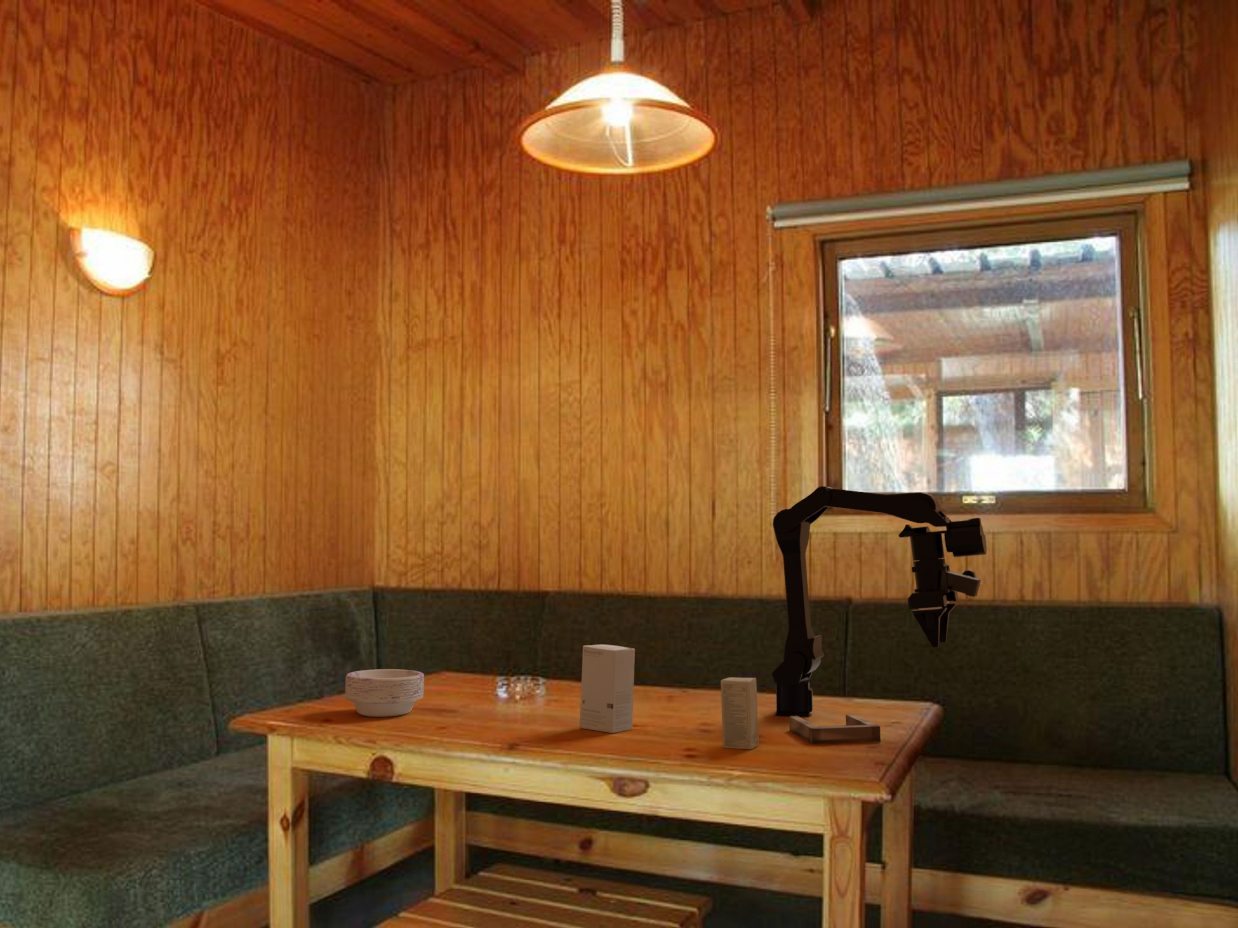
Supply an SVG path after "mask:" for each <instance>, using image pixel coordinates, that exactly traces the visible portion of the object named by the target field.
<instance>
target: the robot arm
mask: <svg viewBox="0 0 1238 928" xmlns="http://www.w3.org/2000/svg"><path fill="white" fill-rule="evenodd" d="M829 508H840V509H847V510H855V511H865V512H871V513H872V512H873V513H880V514H886V515H888V516H889V515H890V516H892V517H895V518H899V519H902V520H905V521H908V522H912V523H916V524H929V525H931V526H933V527H935V528H944V527H946V528H945V529H943V530H937V531H931V529H930V527H929V526H919V527H917V526H915V527H913V526H911V524H905V526H904V527H903V529H902V530H901V531H900V533H898V537H899V538H903V539H904V538H910V547H911V548H910V549H911V556H912V563H913V564H912V565H913V566H911V573H913V574H914V581H915V588H914V589H913V590H914V592H913V593H911V594H910V595H909V596H908V598H907V604H908V610H910V612H911V614H913V617H914V618H915V620H916V622H917V623H918V625H919V627H920V628H921V630H922V631H923V633H924V636H925V637H926V639H927V640H928V642H929V644H930V646H931V647H932V648H939V645H940V643H946V642H947V640H948V629H949V627H948V626H949V618H950V613H951V611H953V609H954V608H955V607H956V606H957V605H958V603H957V602H958V601H959V596H958V595H959V594H958V593H961V594H965V595H966V596H968V597H974V598H976V597H977V596H978V593H979V589H980V586H981V578H979V577H977V576H976V573H975V571H973V570H969V569H965V570H964V571H963V572H962V573H960V572H954V571H951V569H950V565H949V564H948V563H946V558H945V549H946V552H947V553H952V555H953V557H954V558H963V557H973V556H984V555H987V552H988V551H987V550H988V548H987V538H986V534H985V533H984V527H983V525H982V519H981V518H980V517H974V518H969V519H964V520H954V521H952V520H951V518H950V517H949V516H947V515H946V514H945V513H944V512H943V511H942V509H941V504H940V502H939V500H938V499H937V498H936V496H934V495H933V494H930V493H926V492H920V491H919V492H917V491H916V492H904V493H891V494H885V493H876V492H866V491H858V490H849V489H848V490H847V489H842V488H841V489H840V488H833V487H831V486H825V485H824V486H818V487H816V489H814V490H813V492H811V493H810V494H809V495H807V496H805V497H804V498H802V499H801V500H800V501H798V502H796V503H795V504H794V505H792V506H791V507H790V508H784V509H781V510H779V511H778V512H777V513H776V514H775V516H774V517H773V518H772V527H773V531H774V532H773V533H774V536H775V540H776V544H777V545H778V547H779V550H780V552H781V555H782V560H783V562H782V563H783V572H784V573H783V575H784V585H785V586H784V587H785V597H786V598H785V599H786V600H785V602H786V613H787V625H788V627H787V633H786V636H785V641H784V648H783V659H782V662H781V663H780V664H779V665H778V666H777V667H776V668H775V669H774V670H773V671H772V672H771V675H772V679H773V681H774V684H775V696H776V697H775V701H776V702H775V704H776V705H775V706H776V707H775V709H776V710H775V712H774V713H775V715H776V716H798V717H801V716H802V717H804V716H805V717H808V716H809V717H810V715H811V713H812V712H813V710H814V705H813V704H814V703H813V702H814V700H813V693H814V692H813V688H812V687H810V679H811V676H812V674H813V672H814V671H816V670H817V668H819V666H820V665H821V662H822V658H823V657H824V656H825V654H824V651H823V647H822V643H823V635H822V634H819V635H815V632H814V631H813V628H812V623H811V609H810V599H809V598H810V596H809V584H808V572H807V559H806V552H807V548H808V544H809V540H810V531H811V525H812V524H813V523H815V522H816V521H817V520H818V519H819V518H820V517H821V516H822V515H823V514H824V513H825V512H826V511H827V510H828V509H829ZM943 535H944V542H943ZM944 545H945V547H944Z"/></svg>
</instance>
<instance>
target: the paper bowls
mask: <svg viewBox="0 0 1238 928" xmlns="http://www.w3.org/2000/svg"><path fill="white" fill-rule="evenodd" d="M344 691H345V693H344V695H345V696H344V697H345V699H346V700H347V701H348V702H352V703H353V704H354V708H355V710H356V712H357V713H358V714H359V715H360V716H361V715H362V716H365V717H372V718H390V717H397V716H403V715H406V714H408V713H410V712H411V711H412V709H413V707H414V705H415V703H416V702H417V701H418V700H421V699H423V698H424V692H425V674H424V673H423V672H421V671H418V670H412V669H411V670H408V669H393V668H391V669H389V668H386V669H385V668H383V669H382V668H381V669H364V670H357V671H356V670H355V671H352V672H348V673H347V674H346V675H345V687H344Z"/></svg>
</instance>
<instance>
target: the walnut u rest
mask: <svg viewBox="0 0 1238 928" xmlns="http://www.w3.org/2000/svg"><path fill="white" fill-rule="evenodd" d="M788 716H789V717H788V718H789V719H788V720H789V731H790V732H791V733H793V734H795V735H796V736H798V737H800V738H801V739H803V740H805V741H806V742H808V743H810V744H812V745H816V744H817V745H818V744H819V745H820V744H824V745H825V744H844V743H845V744H846V743H874V742H873V741H878V742H882V741H881V726H880V725H878V724H877V723H874V722H872V721H869V720H867V719H865V718H863V717H861V716H859V715H857V714H854V713H850V714H849V713H848V714H847V713H846V714H845V725H844V724H843V725H842V724H841V725H838V724H837V725H815V724H813V723H811V722H809V721H808V720H805V719H803V718H802V717H801V716H793V715H788ZM871 741H872V742H871Z"/></svg>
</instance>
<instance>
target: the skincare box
mask: <svg viewBox="0 0 1238 928" xmlns="http://www.w3.org/2000/svg"><path fill="white" fill-rule="evenodd" d="M635 654H636V649H635V648H633V647H627V646H620V645H612V644H592V645H591V644H590V645H587V644H586V645H582V660H581V661H582V664H581V665H582V666H581V667H582V668H581V683H580V684H581V686H580V707H579V708H580V709H579V710H580V711H579V713H580V714H579V727H580V729H583V730H584V729H585V730H590V731H597V732H598V731H599V732H605V733H608V734H616V733H621V732H626V731H631V730H633V721H634V720H633V719H634V718H633V717H634V715H633V713H634V689H635V688H634V687H635V686H634V684H635V683H634V682H635V661H636V660H635V659H636V658H635V657H636V656H635Z"/></svg>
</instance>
